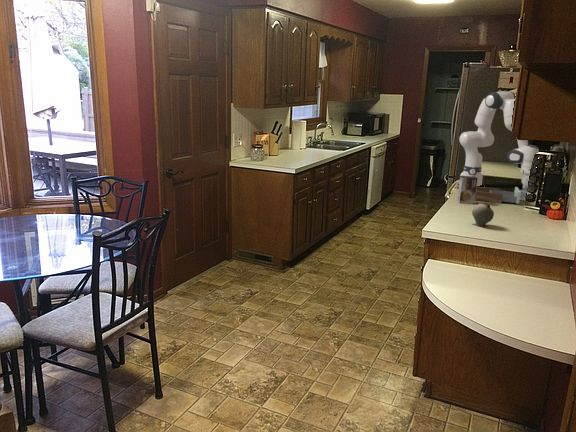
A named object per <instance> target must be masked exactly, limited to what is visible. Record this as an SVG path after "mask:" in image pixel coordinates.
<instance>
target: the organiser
mask: <svg viewBox="0 0 576 432" xmlns="http://www.w3.org/2000/svg"><path fill="white" fill-rule="evenodd" d="M490 190H496V191H502V189H501V188H498V187H497V188H495V187H486V186H484V187H477V186H476V194H475V202H483V203H492V204H493V203H494V204H500V203H501V204H502V202H503V201H502V197H503V194H500V193H490Z"/></svg>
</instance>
